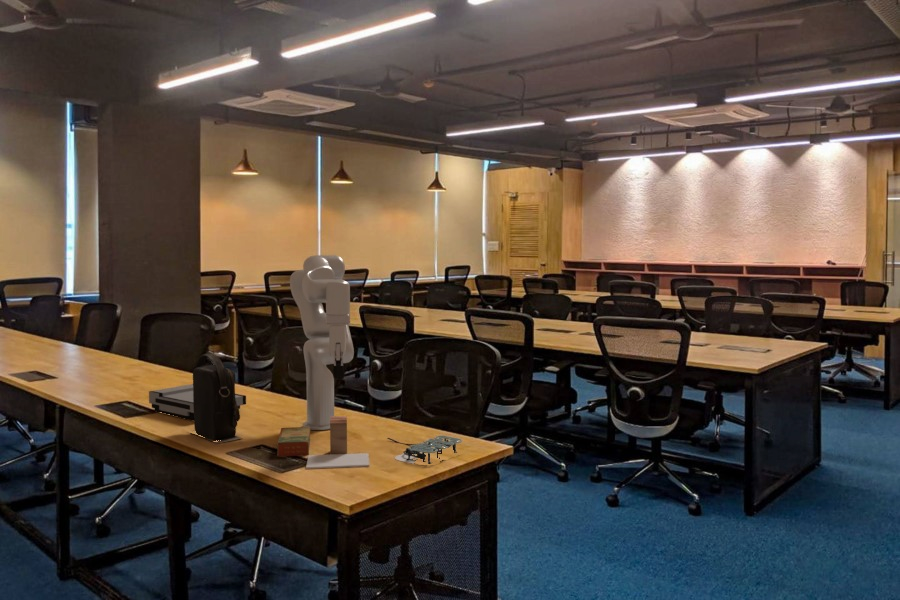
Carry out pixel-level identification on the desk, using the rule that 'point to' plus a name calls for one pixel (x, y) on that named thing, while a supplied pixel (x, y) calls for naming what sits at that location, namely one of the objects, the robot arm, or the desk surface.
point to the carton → (293, 441)
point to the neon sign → (426, 448)
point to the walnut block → (338, 435)
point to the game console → (179, 401)
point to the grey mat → (337, 461)
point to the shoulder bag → (214, 400)
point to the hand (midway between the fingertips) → (338, 376)
